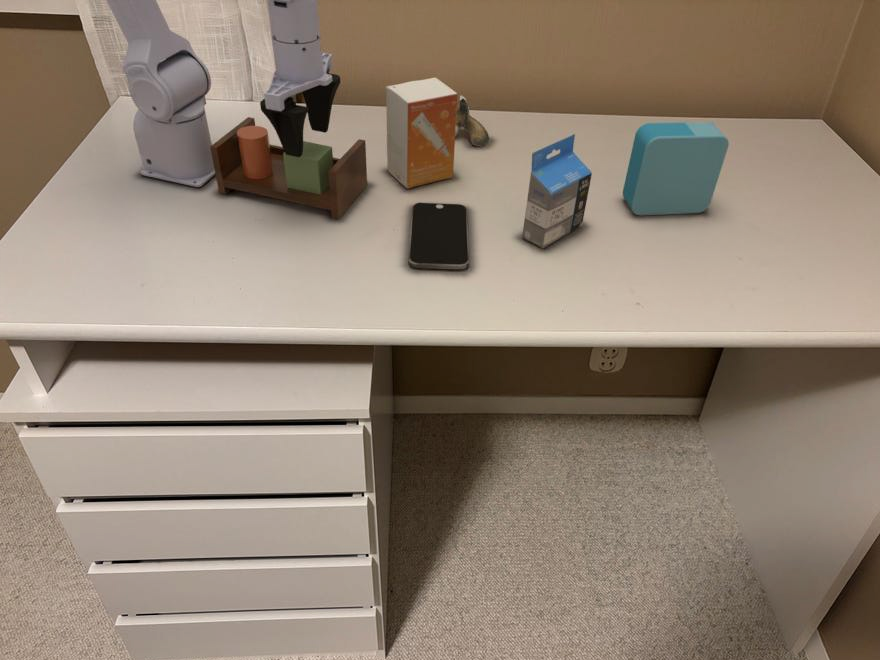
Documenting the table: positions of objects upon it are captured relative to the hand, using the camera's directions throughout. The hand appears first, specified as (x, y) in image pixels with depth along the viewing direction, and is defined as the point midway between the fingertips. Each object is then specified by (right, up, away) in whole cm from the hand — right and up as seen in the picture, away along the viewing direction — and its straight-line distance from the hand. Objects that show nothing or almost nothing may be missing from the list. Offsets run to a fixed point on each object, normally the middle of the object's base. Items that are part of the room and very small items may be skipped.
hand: (307, 142), depth 96 cm
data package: (+50, -6, +11) cm, 51 cm away
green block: (0, -5, +4) cm, 6 cm away
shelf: (-3, -4, +7) cm, 9 cm away
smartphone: (+17, -12, +1) cm, 21 cm away
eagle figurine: (+20, +8, +23) cm, 32 cm away
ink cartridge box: (+33, -11, +4) cm, 35 cm away
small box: (+14, -1, +13) cm, 19 cm away
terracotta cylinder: (-8, -3, +5) cm, 10 cm away
